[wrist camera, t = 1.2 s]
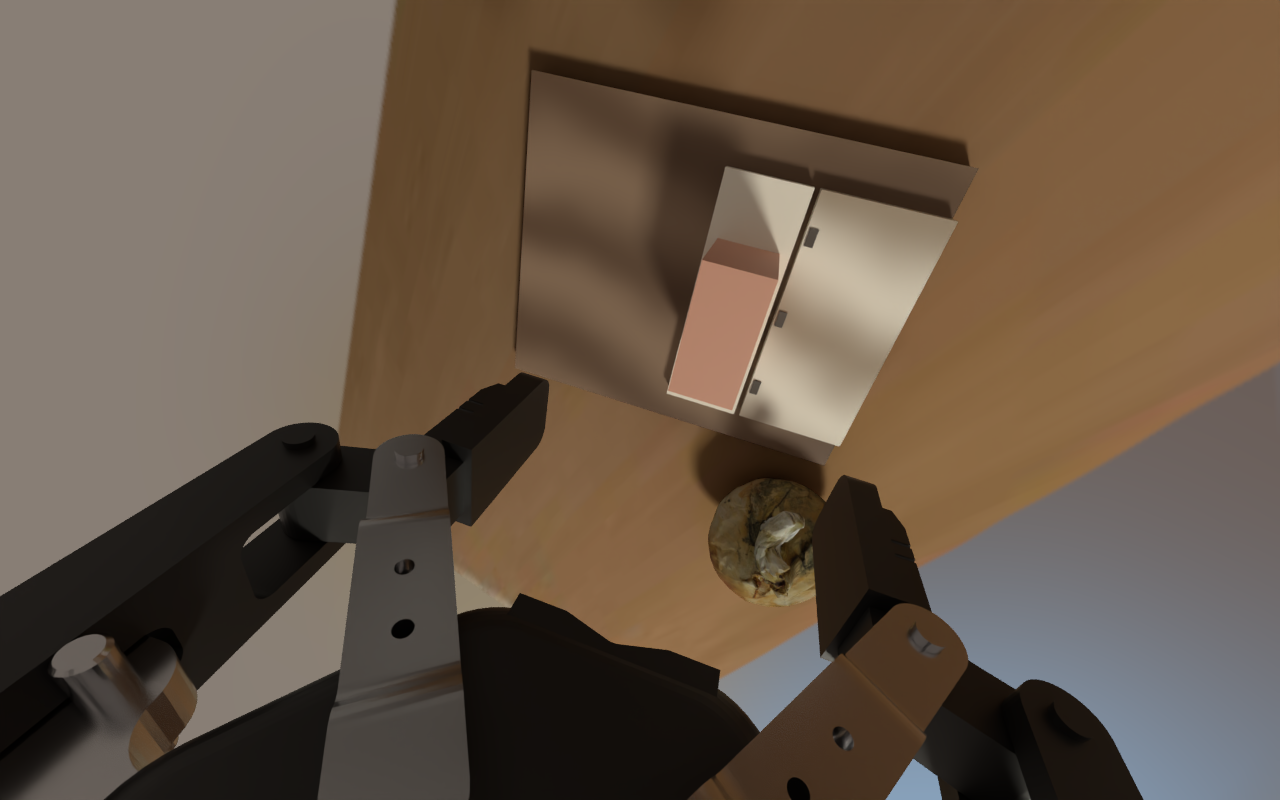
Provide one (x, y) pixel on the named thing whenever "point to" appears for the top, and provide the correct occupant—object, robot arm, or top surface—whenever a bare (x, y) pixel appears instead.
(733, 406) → the pink and white block
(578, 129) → the board
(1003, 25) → the top surface
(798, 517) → the onion
